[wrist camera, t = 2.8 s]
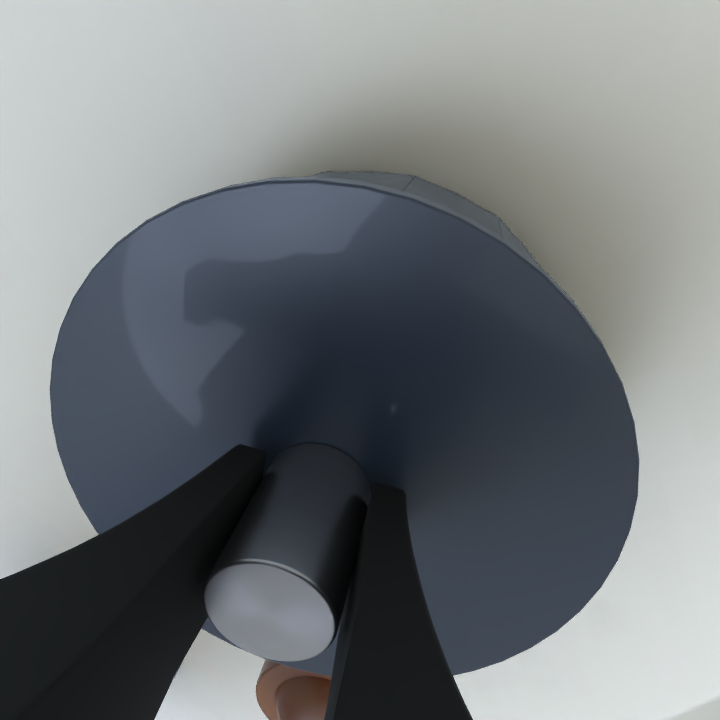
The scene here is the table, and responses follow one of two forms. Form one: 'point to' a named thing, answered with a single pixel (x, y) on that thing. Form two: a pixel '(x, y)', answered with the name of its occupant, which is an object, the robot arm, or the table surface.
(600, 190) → the table surface
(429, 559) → the pan lid
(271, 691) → the mushroom
